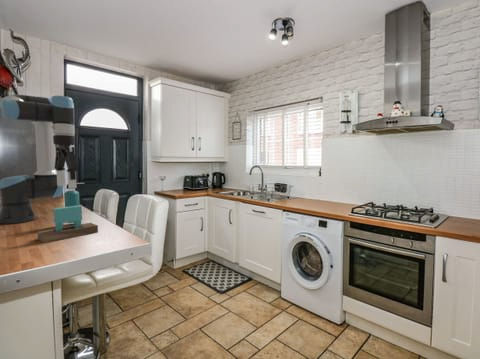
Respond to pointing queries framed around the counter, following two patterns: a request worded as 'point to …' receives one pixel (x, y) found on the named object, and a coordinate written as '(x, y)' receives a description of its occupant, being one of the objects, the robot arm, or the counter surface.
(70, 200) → the beverage bottle
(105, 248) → the counter surface
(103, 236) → the counter surface
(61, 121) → the robot arm
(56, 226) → the notched teal block
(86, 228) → the rail
